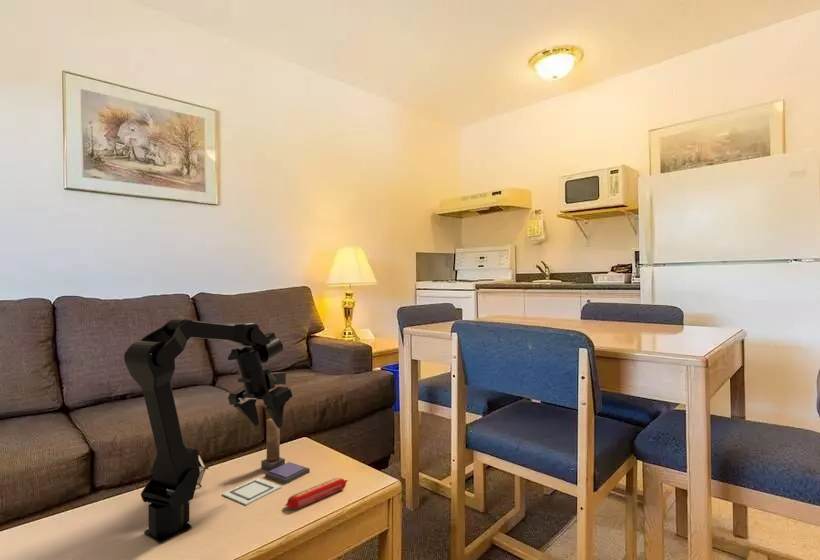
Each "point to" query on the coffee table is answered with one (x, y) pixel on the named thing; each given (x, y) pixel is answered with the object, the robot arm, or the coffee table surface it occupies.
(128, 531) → the coffee table surface
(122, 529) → the coffee table surface
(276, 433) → the wooden handle on base
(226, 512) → the coffee table surface
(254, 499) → the print card
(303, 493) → the candy bar
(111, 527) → the coffee table surface
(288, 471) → the ink pad
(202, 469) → the game die
